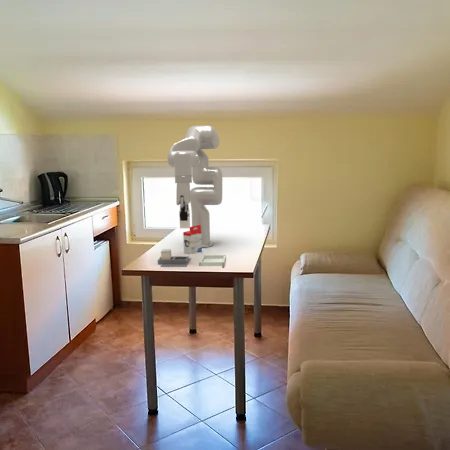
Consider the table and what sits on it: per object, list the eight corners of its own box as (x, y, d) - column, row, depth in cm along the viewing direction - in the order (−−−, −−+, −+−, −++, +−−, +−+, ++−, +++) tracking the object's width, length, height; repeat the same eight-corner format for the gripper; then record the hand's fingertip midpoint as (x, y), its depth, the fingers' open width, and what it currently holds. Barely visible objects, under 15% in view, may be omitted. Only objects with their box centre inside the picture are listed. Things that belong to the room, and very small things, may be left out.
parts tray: (202, 260, 236) (202, 255, 235) (225, 260, 235) (225, 254, 234) (199, 267, 222) (199, 262, 221) (223, 267, 221) (223, 262, 221)
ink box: (195, 251, 254) (194, 223, 251) (202, 252, 251) (201, 224, 248) (183, 254, 247) (182, 226, 245) (190, 256, 244) (189, 227, 241)
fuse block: (162, 260, 237) (162, 246, 236) (191, 260, 236) (191, 246, 235) (155, 269, 221) (155, 254, 220) (186, 269, 220) (186, 254, 219)
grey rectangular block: (181, 226, 228) (180, 209, 226) (190, 226, 227) (189, 209, 226) (179, 228, 224) (179, 210, 222) (188, 228, 223) (188, 210, 222)
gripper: (178, 177, 230) (180, 216, 233) (171, 181, 214) (173, 223, 217) (194, 177, 229) (195, 216, 233) (188, 181, 213) (189, 222, 216)
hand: (184, 219), depth 225 cm, fingers closed on grey rectangular block, 4 cm apart
